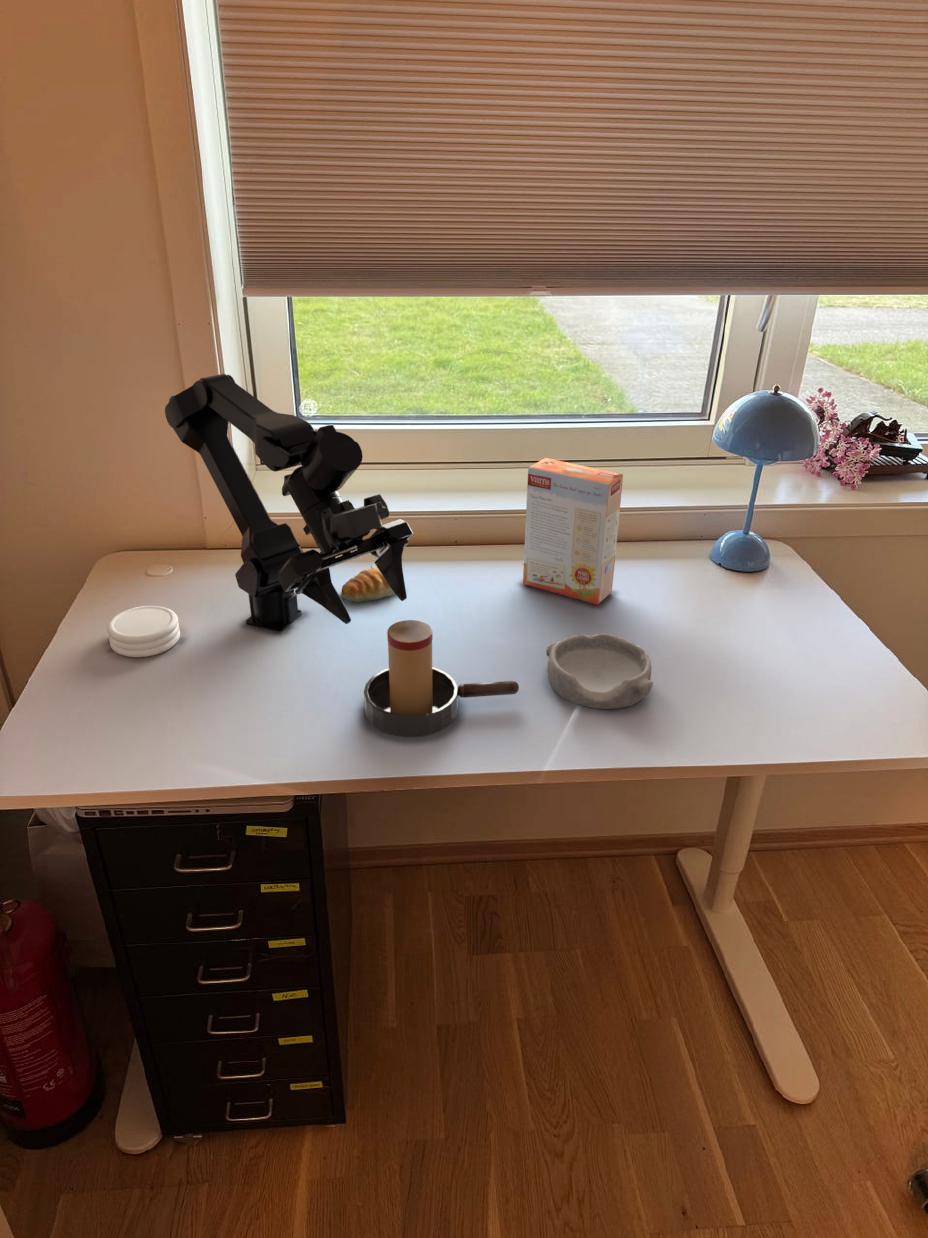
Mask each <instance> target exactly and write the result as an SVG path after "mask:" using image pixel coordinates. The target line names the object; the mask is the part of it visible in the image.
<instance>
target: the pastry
mask: <svg viewBox="0 0 928 1238" xmlns="http://www.w3.org/2000/svg"><path fill="white" fill-rule="evenodd" d="M340 595H341V597H342V598H343V599H346V600H348V601H351V602H356V603H359V602H360V603H364V602H367V601H370V602H371V601H375V600H380V599H384V598H386V597H391V596H394V595H396V594H395V593H394V591H393V590H392V588H391V587H390V585H389V584H388V582H387V581H386V579H385V578H384V576H383V575H382V573H381V572H380V570H379V569H378V567H377V566H376V567H372V568H367V569H363V570H361V571H360V572H359V573H358V574H357V575H355V576H354V577H352V578H349V580H347V581H346V582H345V583H344V584H343V585H342V586H341V593H340Z"/></svg>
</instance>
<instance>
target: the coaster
mask: <svg viewBox="0 0 928 1238" xmlns="http://www.w3.org/2000/svg"><path fill="white" fill-rule="evenodd" d="M106 631H107V634H108V640H109V645H110V647H111V649H112V650H113V652H115V653H116V654H118V655H121V656H123V657H128V658H147V657H151V656H155V655H159V654H162V653H164V652H166V651H168V650H169V649H171V648H173V647H174V646H175V645H176V644H177V642H178V641H179V640H180V638H181V630H180V624H179V618H178V615H177V614H176V613H175V612H174V611H173V610H172V609H170V608H168V607H164V606H159V605H141V606H136V607H132V608H129V609H126V610H123V611H121V612H119V613H118V614H116V615H115V616H114V617H112V618H111V620H109V622H108V624H107V628H106Z"/></svg>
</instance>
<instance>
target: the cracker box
mask: <svg viewBox="0 0 928 1238" xmlns="http://www.w3.org/2000/svg"><path fill="white" fill-rule="evenodd" d="M623 479H624V474H623V473H620V472H614V471H609V470H605V469H601V468H596V467H590V466H586V465H581V464H576V463H571V462H567V461H562V460H558V459H553V458H548V457H544V458H542V459H541V460H539V461H537V462H536V463H534V464H532V465H531V466H529V467H528V468H527V484H526V485H527V486H526V507H525V526H524V527H525V529H524V546H523V547H524V548H523V549H524V551H523V574H522V584H523V585H525V586H529V587H533V588H536V589H540V590H544V591H547V592H550V593H554V594H557V595H562V596H565V597H569V598H572V599H574V600H580V601H583V602H585V603H589V604H593V605H596V606H597V605H599V604H601V603H602V602H603V601H604V600H605V599H606V598H607V597H608V596H609V595H610V594H611V593H612V592H613V584H614V574H615V564H616V555H617V543H618V533H619V521H620V512H621V502H622V492H623V491H622V490H623Z"/></svg>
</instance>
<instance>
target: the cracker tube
mask: <svg viewBox="0 0 928 1238" xmlns="http://www.w3.org/2000/svg"><path fill="white" fill-rule="evenodd" d="M386 631H387V632H386V634H387V636H386V637H387V652H388V655H387V656H388V668H389V685H390V711H391V713H395V714H401V715H417V714H424V713H429V712H432V709H433V696H432V667H433V628H432V627H431V626H430V625H429V624H428V623H426V622H424V621H420V620H415V619H405V620H400V621H397V622H395V623H393V624H391V625H390V626H389V627H388V629H387V630H386Z"/></svg>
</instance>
